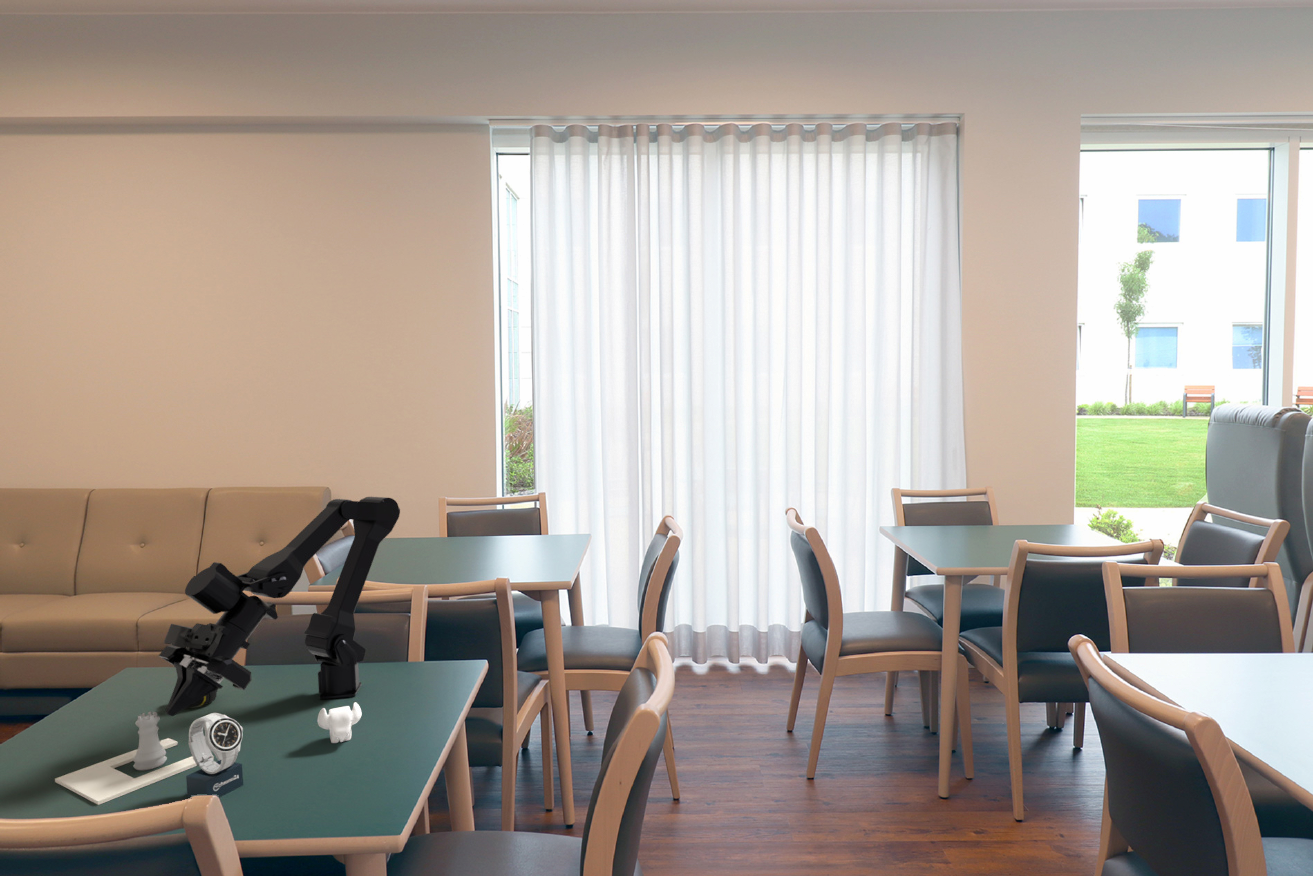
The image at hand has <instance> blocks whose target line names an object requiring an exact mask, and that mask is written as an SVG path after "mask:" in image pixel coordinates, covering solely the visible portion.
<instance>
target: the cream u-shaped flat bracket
mask: <svg viewBox="0 0 1313 876" xmlns="http://www.w3.org/2000/svg"><path fill="white" fill-rule="evenodd" d="M159 742H160V745H162V748H163V749H165V750H167V749H169V748H172V747H175V746H178V743H179V742H178V741H176V740H174V739H171V738H169V737H167V738H164V739H161V740H159ZM137 751H138V748H137V749H134V750H130V751H127V752H126V753H122V754H119V755H117V756H114V757H112V758H111V757H110V758H109V759H106V760H104V761H103V760H102V761H100V762H97V763H94V764H92V765H88V766H87V767H83V768H81V769H78V770H75V771H72V772H69V773H67V774H65V775H64V774H63V775H62V776H59V777H56V778H54V783H56V784H58V785H59V786H62V787H64V788H66V789H68V790H70V791H71V792H73V793H75V794H77V795H79V796H81V797H83V798H85V799H86V800H88V801H90V802H91V803H94V804H95V805H97V806H100V805H102V804H104V803H106V802H109V801H112V800H114V799H117V798H119V797H121V796H124V795H127V794H130V793H132V792H134V791H136V790H139V789H142V788H144V787H146V786H149V785H153V784H154V783H156V782H160V781H162V780H164V779H166V778H170V777H172V776H174V775H177V774H179V773H182V772H185V771H187V770H189V769H192V768H195V767H198V766H197V765H196V763H195V761H194V760H193V756H192V755H191V756H189V757H186V758H184V759H181V760H179V761H176V762H173V763H171V764H169V765H166V766H163V767H161V768H159V769H158V768H157V769H156V770H155V769H154V770H153V771H150V772H148V773H145V774H142V775H139V776H137V777H132V776H130V775H128V774H126V773H124V772H122V771H120V770H118V769H115V768H118V767H121V766H123V765H127V764H130V763H131V762H134V760H133V759H134V757H135V755H136V754H137V753H136V752H137ZM214 757H215V755H213V757H212V759H213V760H214V759H215V758H214Z"/></svg>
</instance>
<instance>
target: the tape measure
mask: <svg viewBox="0 0 1313 876" xmlns="http://www.w3.org/2000/svg"><path fill="white" fill-rule="evenodd" d="M218 690H219V689H217V690H215V691H213V692H212V693H210V694H208V695H206V696H205V697H203V698H201V699H199V700H198V701H196V702H194V703H193V704H191V705H190V706H188V707H187V708H188V709H189V708H191V709H194V708H199V707H203V706H204V705H208V704H210V703H212V702H213V701H215V700H216V698H217V693H218ZM187 708H186V709H187Z"/></svg>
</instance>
